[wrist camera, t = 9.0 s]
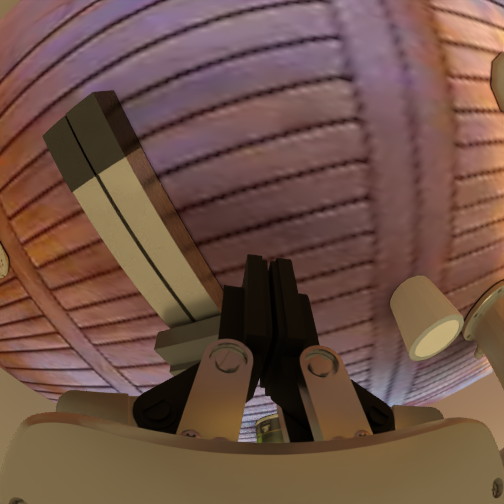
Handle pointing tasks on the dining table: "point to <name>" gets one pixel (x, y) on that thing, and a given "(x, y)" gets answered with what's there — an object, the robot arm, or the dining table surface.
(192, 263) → the arm
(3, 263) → the flatbread
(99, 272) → the dining table surface
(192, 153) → the dining table surface
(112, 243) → the tongs base
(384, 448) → the robot arm
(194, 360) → the sleeve
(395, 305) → the beige tapered cylinder
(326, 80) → the dining table surface
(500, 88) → the flask
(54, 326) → the dining table surface
